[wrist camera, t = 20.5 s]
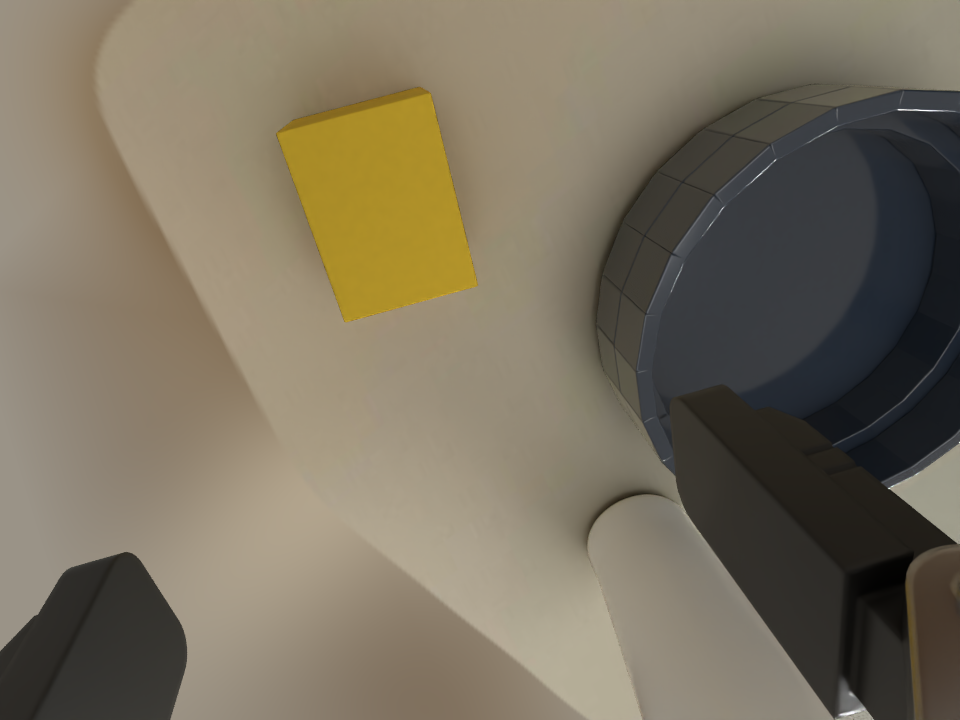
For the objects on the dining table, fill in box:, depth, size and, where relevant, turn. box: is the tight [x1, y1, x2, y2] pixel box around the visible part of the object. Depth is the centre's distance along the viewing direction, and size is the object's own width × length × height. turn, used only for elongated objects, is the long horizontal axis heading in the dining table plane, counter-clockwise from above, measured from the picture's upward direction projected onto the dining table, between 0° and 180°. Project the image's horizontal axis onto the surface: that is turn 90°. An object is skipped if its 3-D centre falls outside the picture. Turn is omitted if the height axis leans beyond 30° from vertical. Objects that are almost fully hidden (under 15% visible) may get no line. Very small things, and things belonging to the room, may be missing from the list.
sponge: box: [276, 87, 478, 322], centre depth 21 cm, size 4×6×4 cm
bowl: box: [596, 84, 960, 488], centre depth 24 cm, size 16×16×5 cm
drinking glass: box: [587, 494, 854, 720], centre depth 25 cm, size 7×7×15 cm
